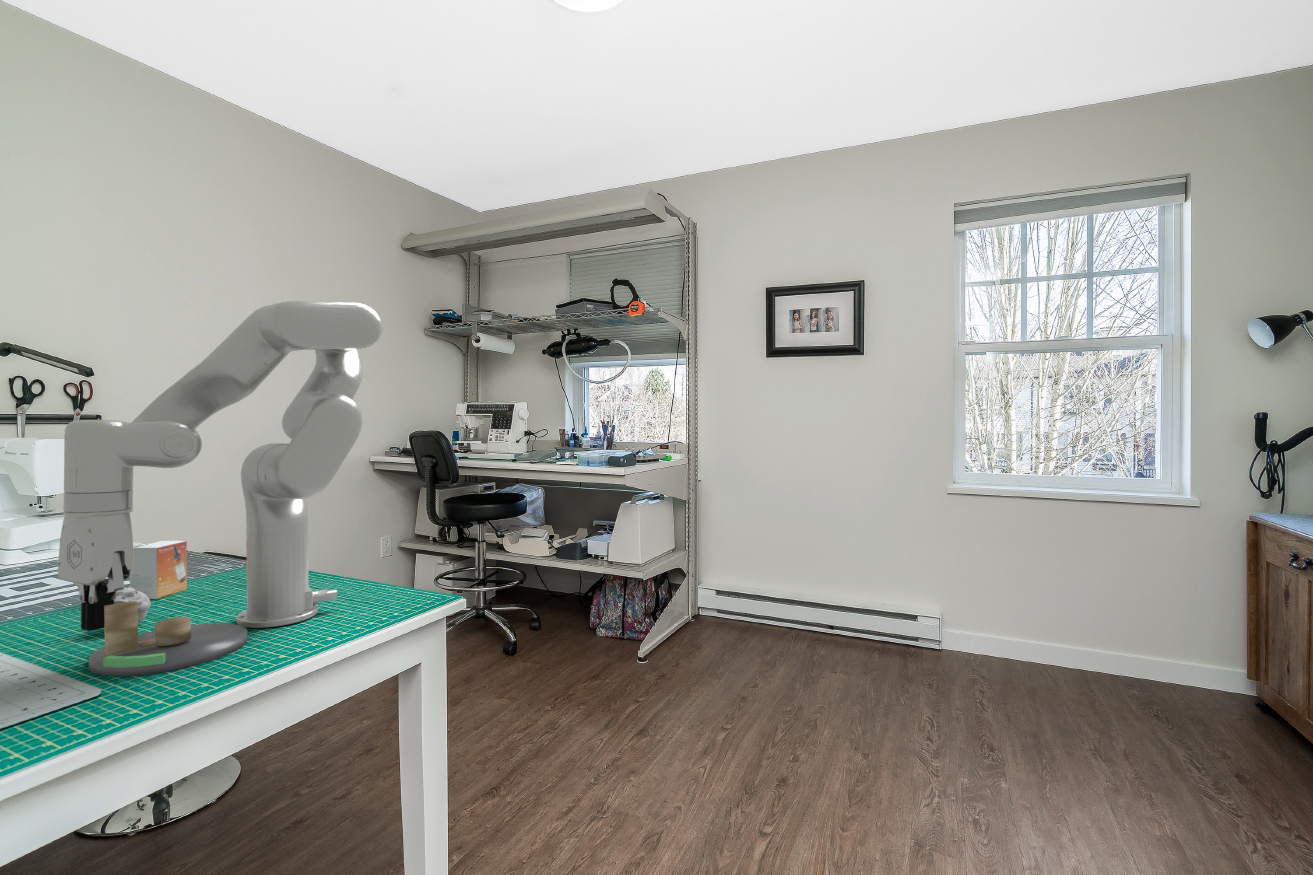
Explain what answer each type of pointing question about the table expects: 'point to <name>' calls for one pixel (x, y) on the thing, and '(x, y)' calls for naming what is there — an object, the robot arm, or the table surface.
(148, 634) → the dial face
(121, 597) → the grey rounded lump
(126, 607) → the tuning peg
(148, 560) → the small box
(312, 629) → the table surface
